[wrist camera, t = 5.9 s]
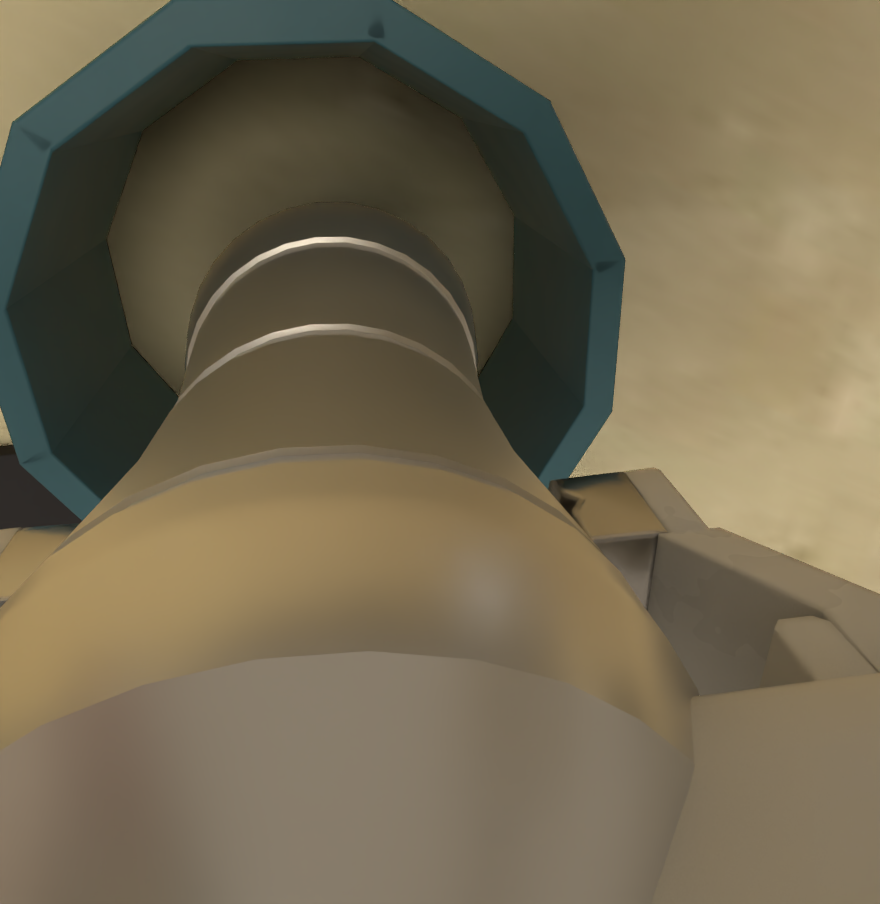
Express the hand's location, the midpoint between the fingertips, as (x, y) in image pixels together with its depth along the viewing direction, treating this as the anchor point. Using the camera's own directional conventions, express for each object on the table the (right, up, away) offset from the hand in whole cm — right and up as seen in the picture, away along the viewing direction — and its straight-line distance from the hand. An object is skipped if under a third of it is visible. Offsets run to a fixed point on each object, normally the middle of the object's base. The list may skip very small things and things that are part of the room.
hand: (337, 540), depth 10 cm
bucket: (-2, +7, +14) cm, 16 cm away
